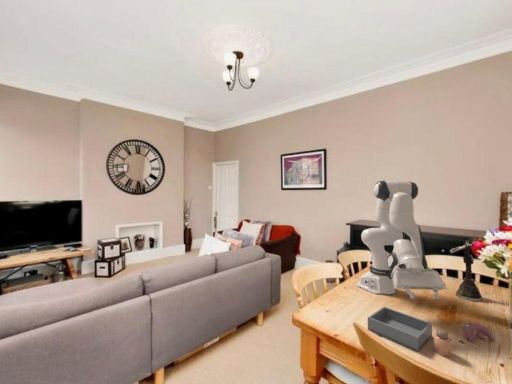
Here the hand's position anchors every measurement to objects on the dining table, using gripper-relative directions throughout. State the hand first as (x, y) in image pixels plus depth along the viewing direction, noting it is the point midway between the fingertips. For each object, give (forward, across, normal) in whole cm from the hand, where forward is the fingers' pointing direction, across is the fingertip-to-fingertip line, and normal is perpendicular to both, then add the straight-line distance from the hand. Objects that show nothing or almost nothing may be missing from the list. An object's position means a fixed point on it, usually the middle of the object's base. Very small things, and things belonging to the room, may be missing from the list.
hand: (424, 298), depth 107 cm
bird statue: (-19, -42, -41) cm, 62 cm away
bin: (+11, +11, -11) cm, 19 cm away
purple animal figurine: (+12, -20, -11) cm, 25 cm away
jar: (+20, 0, -3) cm, 20 cm away
